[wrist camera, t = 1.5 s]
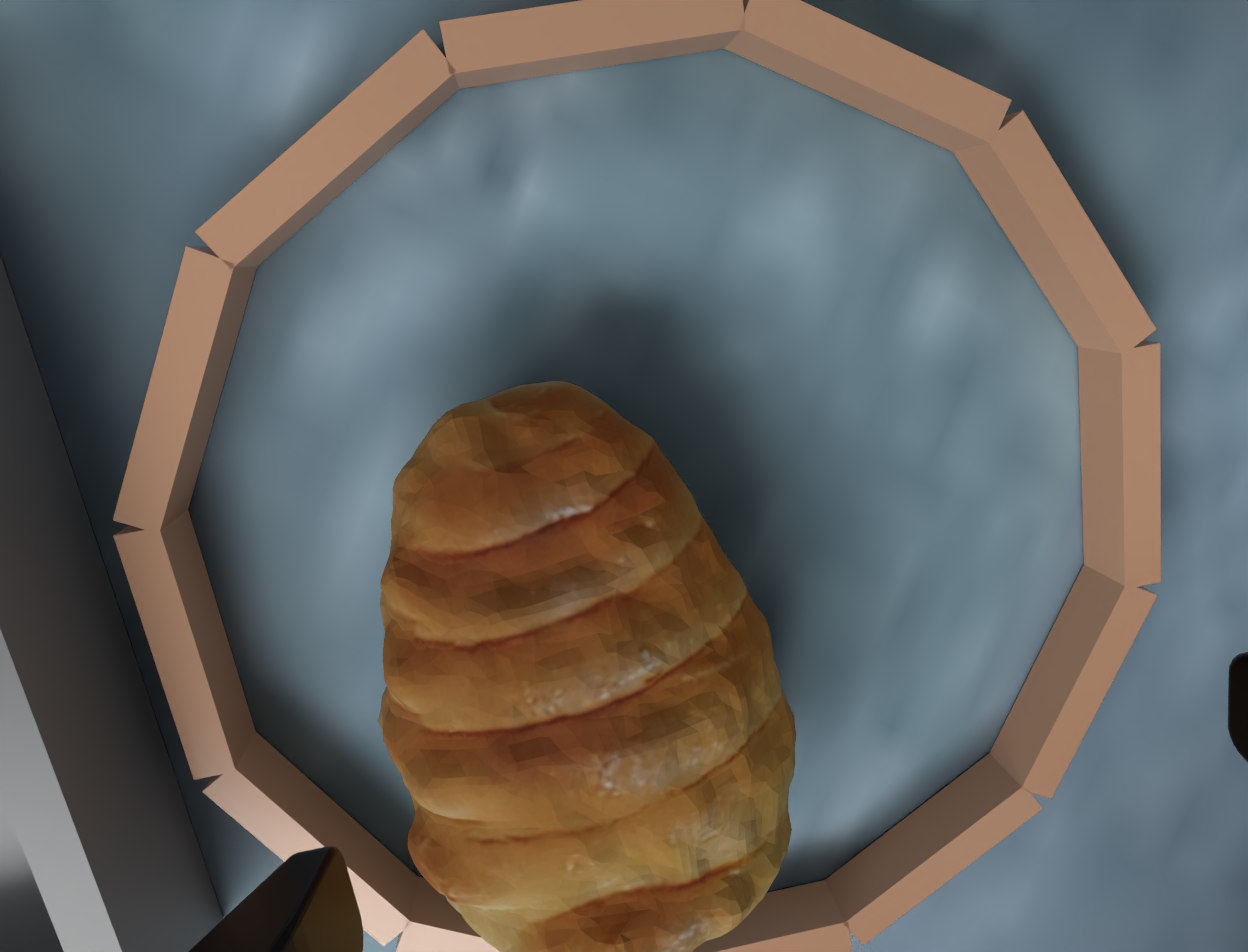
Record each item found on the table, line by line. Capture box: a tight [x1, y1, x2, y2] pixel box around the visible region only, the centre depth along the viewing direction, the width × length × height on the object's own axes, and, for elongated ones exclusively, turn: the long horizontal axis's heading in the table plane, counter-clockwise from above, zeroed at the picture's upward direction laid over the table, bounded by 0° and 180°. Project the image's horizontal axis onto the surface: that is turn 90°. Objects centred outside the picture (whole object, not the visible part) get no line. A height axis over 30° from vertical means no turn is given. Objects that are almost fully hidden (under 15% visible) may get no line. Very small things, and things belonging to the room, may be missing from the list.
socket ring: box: [113, 0, 1161, 952], centre depth 15 cm, size 17×17×1 cm
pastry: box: [378, 381, 796, 952], centre depth 14 cm, size 9×7×4 cm
